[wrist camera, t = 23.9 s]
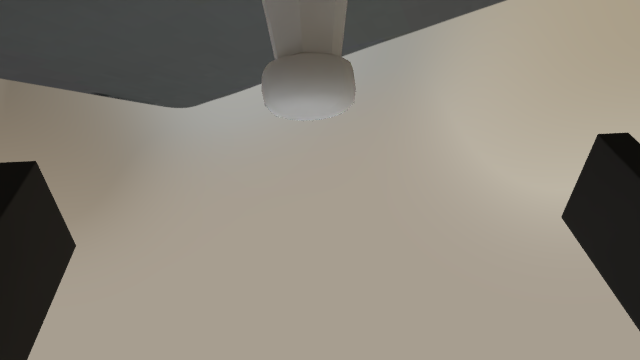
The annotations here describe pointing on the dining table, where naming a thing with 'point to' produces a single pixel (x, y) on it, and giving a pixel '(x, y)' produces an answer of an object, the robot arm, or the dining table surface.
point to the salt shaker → (307, 60)
